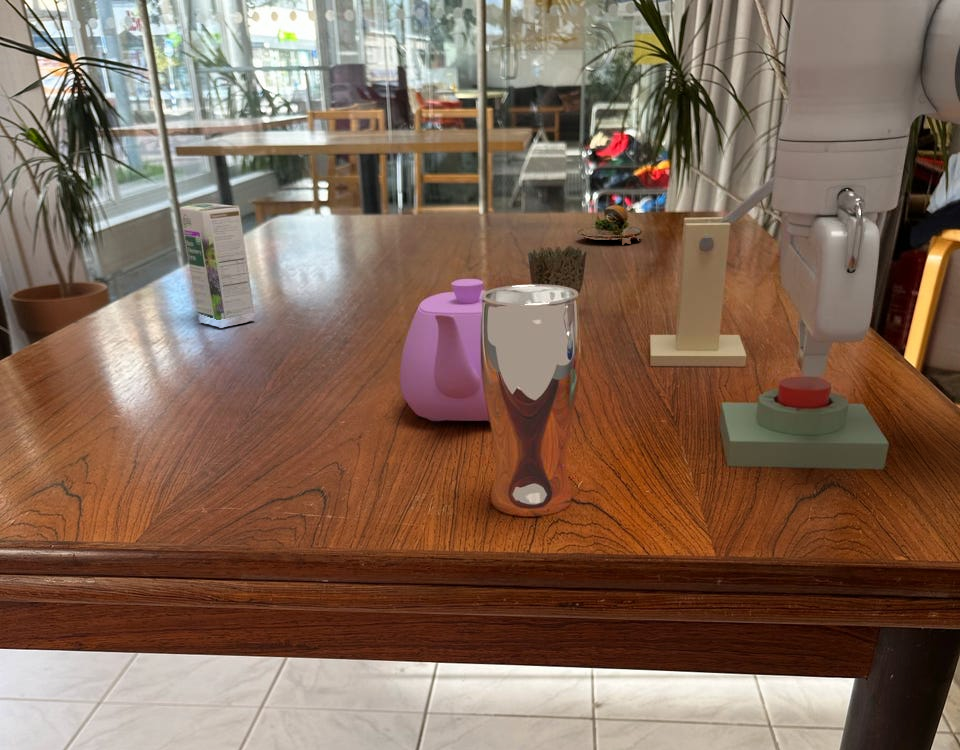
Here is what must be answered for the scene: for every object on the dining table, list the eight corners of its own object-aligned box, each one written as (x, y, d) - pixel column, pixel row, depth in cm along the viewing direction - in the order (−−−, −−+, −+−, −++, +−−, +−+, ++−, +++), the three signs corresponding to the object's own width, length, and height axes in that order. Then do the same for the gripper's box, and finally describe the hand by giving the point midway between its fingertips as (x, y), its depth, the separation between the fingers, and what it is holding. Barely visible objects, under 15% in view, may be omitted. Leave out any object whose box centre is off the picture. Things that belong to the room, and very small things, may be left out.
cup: (520, 312, 126) (519, 248, 122) (572, 306, 128) (573, 243, 123) (540, 323, 120) (540, 256, 116) (593, 318, 121) (595, 251, 117)
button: (823, 397, 78) (827, 376, 78) (831, 412, 75) (835, 390, 74) (774, 397, 79) (776, 376, 78) (780, 411, 76) (782, 390, 75)
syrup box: (197, 323, 127) (175, 206, 119) (235, 315, 130) (216, 201, 123) (220, 330, 123) (199, 209, 116) (258, 321, 127) (240, 203, 119)
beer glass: (500, 525, 67) (494, 308, 60) (474, 490, 73) (466, 288, 65) (591, 512, 69) (597, 298, 61) (559, 479, 75) (561, 280, 67)
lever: (835, 143, 94) (822, 123, 93) (844, 147, 90) (830, 125, 89) (699, 253, 101) (686, 235, 100) (701, 262, 97) (688, 243, 96)
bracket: (738, 345, 107) (752, 213, 100) (745, 366, 100) (761, 226, 93) (649, 345, 109) (657, 215, 102) (649, 366, 101) (658, 227, 94)
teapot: (425, 381, 99) (417, 263, 93) (550, 383, 97) (551, 262, 91) (375, 447, 83) (361, 307, 76) (526, 450, 80) (524, 308, 74)
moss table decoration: (570, 238, 178) (570, 195, 174) (630, 234, 179) (632, 191, 175) (587, 248, 168) (588, 202, 164) (651, 244, 169) (653, 198, 165)
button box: (859, 428, 82) (867, 382, 80) (884, 470, 74) (893, 420, 72) (718, 426, 84) (723, 381, 82) (727, 467, 76) (732, 418, 73)
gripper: (916, 198, 59) (878, 413, 66) (855, 167, 76) (830, 340, 84) (812, 201, 60) (785, 412, 67) (775, 170, 77) (757, 341, 85)
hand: (810, 372), depth 76 cm, fingers closed
